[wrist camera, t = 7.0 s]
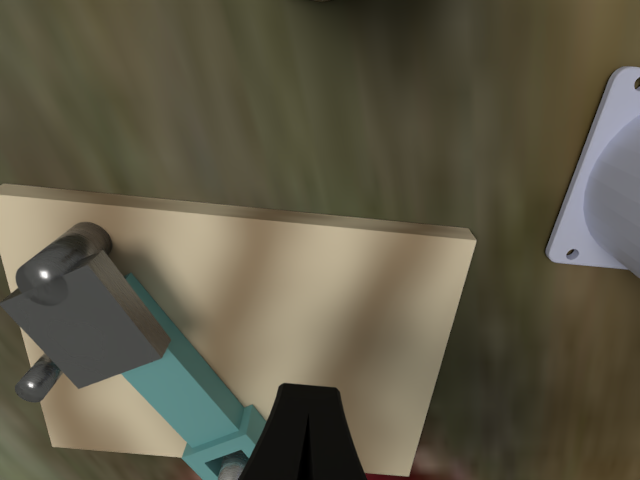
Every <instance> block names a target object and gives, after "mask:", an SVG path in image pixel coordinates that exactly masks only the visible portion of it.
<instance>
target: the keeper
mask: <svg viewBox="0 0 640 480" xmlns="http://www.w3.org/2000/svg"><path fill="white" fill-rule="evenodd" d="M111 251H112V240H111V238H110V236H109V234H108V233H107V232H106V231H105V230H104V229H103V228H102V227H100V226H99V225H97V224H94V223H91V222H80V223H77V224H75V225H74V226H73V227H71V228H70V229H69V230H67V231H66V232H65V233H64V234H62V235H61V236H60V237H58V238H57V239H56V240H54V241H53V242H52V243H51V244H49V245H48V246H47V247H45V248H44V249H43V250H41V251H40V252H39V253H38V254H36V255H35V256H34V257H32V258H31V259H30V260H28V261H27V262H26V263H25V264H23V265H22V266H21V267H20V268H19V269H18V270H17V272H16V276H15V279H16V284H17V286H18V288H17V289H16V290H15V291H14V292H12V293H11V294H10V295H9V296H7V297H6V298H5V299H4V300H3V301H1V302H0V306H1V307H2V308H3V309H4V310H5V311H6V312H7V313H8V314H9V315H10V316H11V317H12V318H13V320H14V321H15V322H16V323H17V324H18V325H19V326H20V327H21V328H22V329H23V330H24V331H25V332H26V333H27V334H28V336H29V337H30V338H31V339H32V340H33V341H34V342H35V343H36V344H37V345H38V346H39V347H40V348H41V349H42V350H43V352H44V354H43V355H42V356H41V357H40V358H39V359H38V360H37V362H36V363H35V364H34V365H33V366H32V367H31V368H30V370H29V371H28V372H27V373H26V374H25V375H24V376H23V377H22V379H21V380H20V381H19V382H18V383H17V384H16V386H15V391H16V393H17V394H18V396H19V397H21V398H22V399H24V400H26V401H29V402H40V401H42V400H43V399H44V397H45V396H46V395H47V394H48V392H49V391H50V390H51V388H52V387H53V386H54V384H55V383H56V382H57V381H58V379H59V378H60V377H61V375H62V374H63V373H64V374H65V375H66V376H67V377H68V378H69V379H70V380H71V381H72V383H73V384H74V385H75V386H76V387H77V388H78V389H80V388H83V387H86V386H88V385H91V384H94V383H97V382H99V381H102V380H105V379H107V378H110V377H113V376H116V375H118V374H121V373H124V372H126V371H129V370H132V369H135V368H137V367H140V366H143V365H145V364H148V363H151V362H154V361H156V360H159V359H162V357H163V355H164V353H165V351H166V349H167V347H168V346H169V344H170V342H171V338H170V337H169V336H168V334H167V333H166V332H165V330H164V329H163V328H162V327H161V325H160V324H159V323H158V321H157V320H156V319H155V317H154V316H153V315H152V313H151V312H150V311H149V309H148V308H147V307H146V305H145V304H144V303H143V302H142V300H141V299H140V298H139V296H138V295H137V294H136V292H135V291H134V290H133V288H132V287H131V286H130V284H129V283H128V282H127V280H126V279H125V278H124V277H123V275H122V274H121V273H120V271H119V270H118V269H117V267H116V266H115V265H114V263H113V262H112V261H111V259H110V258H109V257H108V255H109V254H110V253H111Z"/></svg>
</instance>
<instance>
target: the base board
mask: <svg viewBox="0 0 640 480" xmlns="http://www.w3.org/2000/svg"><path fill="white" fill-rule="evenodd" d="M80 222H91V223H94V224H97V225H99V226H100V227H102V228H103V229H104V230H105V231H106V232H107V233H108V234H109V236H110V238H111V240H112V251H111V253H110V254H109V255H108V257H109V258H110V259H111V261H112V262H113V263H114V265H115V266H116V267H117V269H118V270H119V271H120V273H121V274H122V275H123V276H125V275H127V274H129V273H132V274H133V275H134V276H135V277H136V279H137V280H138V281H139V282H140V283H141V285H142V286H143V287H144V288H145V289H146V291H147V292H148V293H149V294H150V295H151V297H152V298H153V299H154V300H155V301H156V303H157V304H158V305H159V306H160V307H161V309H162V310H163V311H164V312H165V313H166V315H167V316H168V317H169V318H170V319H171V321H172V322H173V323H174V324H175V325H176V327H177V328H178V329H179V330H180V331H181V333H182V334H183V335H184V336H185V337H186V338H187V340H188V341H189V342H190V343H191V344H192V346H193V347H194V348H195V349H196V350H197V352H198V353H199V354H200V355H201V356H202V358H203V359H204V360H205V361H206V362H207V364H208V365H209V366H210V367H211V368H212V370H213V371H214V372H215V373H216V374H217V376H218V377H219V378H220V379H221V380H222V382H223V383H224V384H225V385H226V386H227V388H228V389H229V390H230V391H231V392H232V394H233V395H234V396H235V397H236V398H237V400H238V401H239V402H240V403H241V404H242V406H243V407H247V406H250V405H253V406H254V407H255V408H256V409H257V411H258V412H259V413H260V414H261V416H262V417H263V418H264V419H265V420H266V422H267V419H268V417H269V415H270V412H271V410H272V407H273V404H274V401H275V398H276V395H277V391H278V387H279V386H280V385H281V384H283V383H292V384H303V385H315V386H326V387H336V388H337V389H338V390H339V391H340V394H341V400H342V405H343V409H344V413H345V417H346V420H347V424H348V427H349V430H350V433H351V437H352V440H353V443H354V446H355V449H356V451H357V454H358V457H359V460H360V462H361V465H362V467H363V470H364V473H374V474H386V475H398V476H409V474H410V470H411V467H412V463H413V460H414V456H415V453H416V449H417V446H418V442H419V439H420V436H421V432H422V429H423V425H424V422H425V418H426V415H427V411H428V408H429V404H430V401H431V397H432V394H433V390H434V387H435V383H436V380H437V376H438V373H439V370H440V366H441V363H442V359H443V356H444V352H445V349H446V345H447V342H448V338H449V335H450V331H451V328H452V324H453V321H454V317H455V314H456V310H457V307H458V303H459V300H460V297H461V293H462V290H463V286H464V283H465V279H466V276H467V272H468V269H469V265H470V262H471V258H472V255H473V251H474V248H475V244H476V241H477V240H476V239H475V237H474V236H473V234H472V233H471V231H470V230H469V229H468V228H461V227H451V226H440V225H430V224H420V223H409V222H399V221H389V220H378V219H368V218H357V217H347V216H337V215H326V214H316V213H305V212H295V211H285V210H274V209H264V208H254V207H243V206H233V205H222V204H212V203H202V202H191V201H181V200H171V199H160V198H150V197H139V196H129V195H119V194H108V193H98V192H87V191H77V190H67V189H56V188H46V187H36V186H25V185H15V184H2V185H0V254H1V258H2V262H3V265H4V269H5V273H6V276H7V280H8V284H9V288H10V291H11V293H12V292H14V291H15V290H16V289H17V288H18V286H17V284H16V279H15V276H16V272H17V270H18V269H19V268H20V267H21V266H22V265H23V264H25V263H26V262H27V261H28V260H30V259H31V258H32V257H34V256H35V255H36V254H38V253H39V252H40V251H41V250H43V249H44V248H45V247H47V246H48V245H49V244H51V243H52V242H53V241H54V240H56V239H57V238H58V237H60V236H61V235H62V234H64V233H65V232H66V231H67V230H69V229H70V228H71V227H73V226H74V225H75V224H77V223H80ZM20 328H21V327H20ZM21 332H22V336H23V339H24V343H25V347H26V351H27V354H28V358H29V362H30V365H31V367H32V366H33V365H34V364H35V363H36V362H37V360H38V359H39V358H40V357H41V356H42V355H43V354H44V352H43V350H42V349H41V348H40V347H39V346H38V345H37V344H36V343H35V342H34V341H33V340H32V339H31V338H30V337H29V336H28V334H27V333H26V332H25V331H24V330H23V329H22V328H21ZM40 403H41V406H42V410H43V414H44V417H45V421H46V425H47V429H48V432H49V436H50V440H51V443H52V447H62V448H74V449H86V450H98V451H110V452H122V453H134V454H146V455H158V456H170V457H182V455H183V453H184V450H185V447H186V444H187V442H186V441H185V440H184V439H183V438H182V437H181V436H180V435H179V434H178V433H177V432H176V431H175V430H174V429H173V428H172V426H171V425H170V424H169V423H168V422H167V421H166V420H165V419H164V418H163V417H162V416H161V415H160V414H159V413H158V412H157V411H156V410H155V409H154V408H153V407H152V406H151V405H150V404H149V403H148V401H147V400H146V399H145V398H144V397H143V396H142V395H141V394H140V393H139V392H138V391H137V390H136V389H135V388H134V387H133V386H132V385H131V384H130V383H129V382H128V381H127V380H126V379H125V378H124V376H123V375H122V374H118V375H116V376H113V377H110V378H107V379H105V380H102V381H99V382H97V383H94V384H91V385H88V386H86V387H83V388H80V389H78V388H77V387H76V386H75V385H74V384H73V383H72V381H71V380H70V379H69V378H68V377H67V376H66V375H65V374H64V373H63V374H62V375H61V377H60V378H59V379H58V381H57V382H56V383H55V384H54V386H53V387H52V388H51V390H50V391H49V392H48V394H47V395H46V396H45V397H44V399H43V400H42V401H40Z"/></svg>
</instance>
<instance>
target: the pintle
mask: <svg viewBox="0 0 640 480" xmlns="http://www.w3.org/2000/svg"><path fill="white" fill-rule="evenodd" d="M248 460H249V458H248V457H247V456H246V454H245V453H244V452H243V451H242V450H239V451H236V452H233V453H230V454H228V455H225V456H223V460H222V464H221V468H220V472H219V476H218V480H238V478H239V476H240V475H241V473H242V471H243V469H244V467H245V465H246V464H247V462H248Z"/></svg>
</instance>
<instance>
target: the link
mask: <svg viewBox="0 0 640 480" xmlns="http://www.w3.org/2000/svg"><path fill="white" fill-rule="evenodd" d="M123 277H124V278H125V279H126V280H127V282H128V283H129V284H130V286H131V287H132V288H133V290H134V291H135V292H136V294H137V295H138V296H139V298H140V299H141V300H142V302H143V303H144V304H145V305H146V307H147V308H148V309H149V311H150V312H151V313H152V315H153V316H154V317H155V319H156V320H157V321H158V323H159V324H160V325H161V327H162V328H163V329H164V330H165V332H166V333H167V334H168V336H169V337H170V338H171V342H170V344H169V346H168V347H167V349H166V351H165V353H164V355H163V357H162V359H159V360H156V361H154V362H151V363H148V364H145V365H143V366H140V367H137V368H135V369H132V370H129V371H126V372H124V373H121V374H122V375H123V376H124V378H125V379H126V380H127V381H128V382H129V383H130V384H131V385H132V386H133V387H134V388H135V389H136V390H137V391H138V392H139V393H140V394H141V395H142V396H143V397H144V398H145V399H146V400H147V401H148V403H149V404H150V405H151V406H152V407H153V408H154V409H155V410H156V411H157V412H158V413H159V414H160V415H161V416H162V417H163V418H164V419H165V420H166V421H167V422H168V423H169V424H170V425H171V426H172V428H173V429H174V430H175V431H176V432H177V433H178V434H179V435H180V436H181V437H182V438H183V439H184V440H185V441H186V442H187V444H186V447H185V450H184V453H183V455H182V459H183V460H184V461H185V462H186V463H187V464H188V465H189V466H190V467H191V468H192V469H193V470H194V471H195V472H196V473H197V474H198V475H199V476H200V477H201V478H202V479H203V480H218V476H219V472H220V468H221V464H222V460H223V456H225V455H228V454H230V453H233V452H236V451H239V450H242V451H243V452H244V453H245V454H246V456H247V457H248V458H250V456H251V453H252V451H253V449H254V447H255V445H256V443H257V441H258V439H259V437H260V435H261V433H262V431H263V429H264V426H265V424H266V420H265V419H264V418H263V417H262V416H261V414H260V413H259V412H258V411H257V409H256V408H255V407H254V406H253V405H250V406H247V407H243V406H242V404H241V403H240V402H239V401H238V400H237V398H236V397H235V396H234V395H233V394H232V392H231V391H230V390H229V389H228V388H227V386H226V385H225V384H224V383H223V382H222V380H221V379H220V378H219V377H218V376H217V374H216V373H215V372H214V371H213V370H212V368H211V367H210V366H209V365H208V364H207V362H206V361H205V360H204V359H203V358H202V356H201V355H200V354H199V353H198V352H197V350H196V349H195V348H194V347H193V346H192V344H191V343H190V342H189V341H188V340H187V338H186V337H185V336H184V335H183V334H182V333H181V331H180V330H179V329H178V328H177V327H176V325H175V324H174V323H173V322H172V321H171V319H170V318H169V317H168V316H167V315H166V313H165V312H164V311H163V310H162V309H161V307H160V306H159V305H158V304H157V303H156V301H155V300H154V299H153V298H152V297H151V295H150V294H149V293H148V292H147V291H146V289H145V288H144V287H143V286H142V285H141V283H140V282H139V281H138V280H137V279H136V277H135V276H134V275H133V274H132V273H129V274H127V275H125V276H123Z"/></svg>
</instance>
